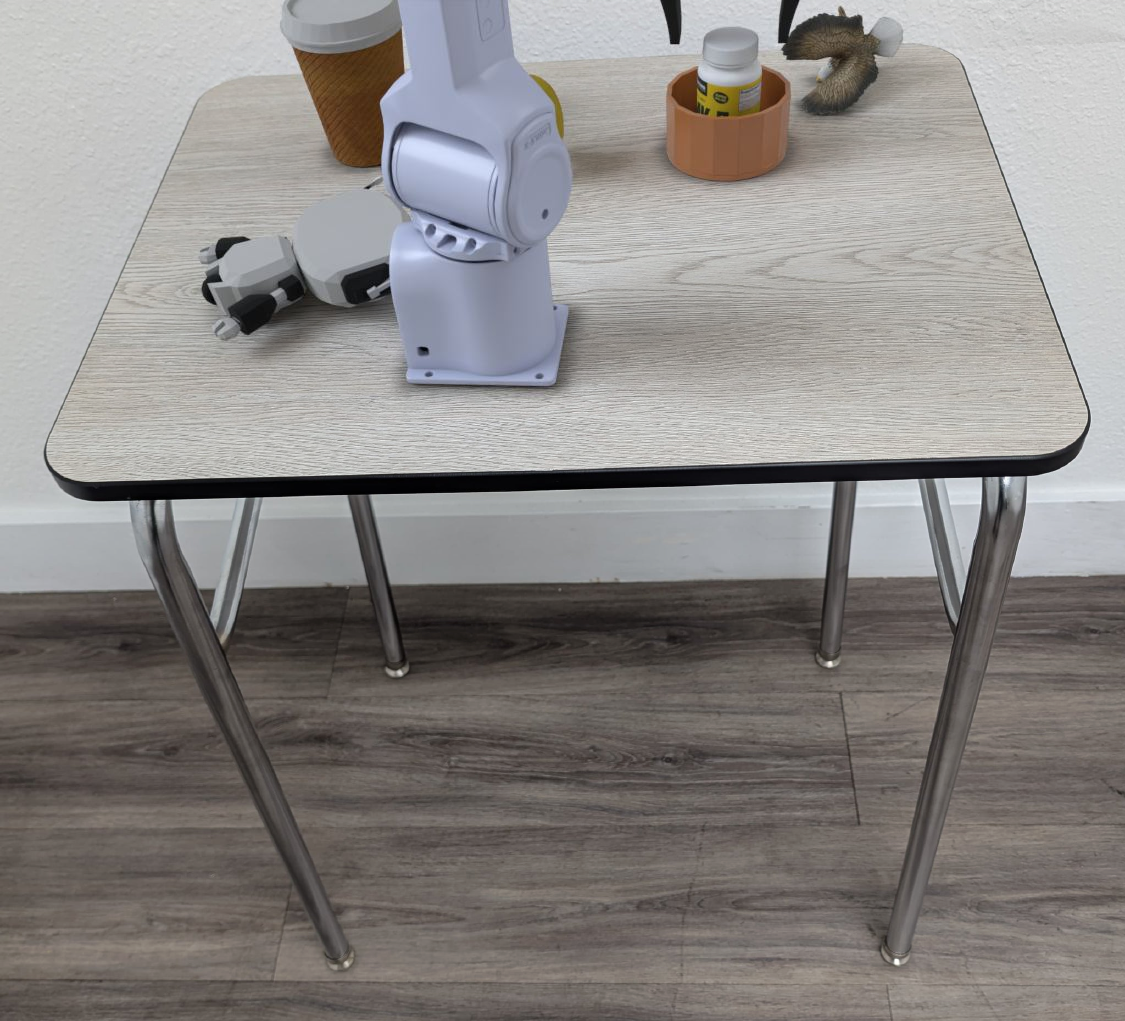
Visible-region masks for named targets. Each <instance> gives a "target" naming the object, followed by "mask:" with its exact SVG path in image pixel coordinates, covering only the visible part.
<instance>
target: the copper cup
mask: <svg viewBox="0 0 1125 1021" xmlns="http://www.w3.org/2000/svg"><path fill="white" fill-rule="evenodd" d="M698 67H699V65H697V66H693V67H691V68H689V69H687V70H684V71H682V72H681V73H678V74H677V75H675V77H674V78H673V79H671V81H670V82H669V83H668V84H667V86H666V96H665V99H666V100H665V109H666V111H665V112H666V113H665V114H666V115H665V116H666V127H665V128H666V154H667V157H668V160H669V162H670V164H672V165H673V166H674V167H675V168H676V169H677V170H678V171H680V172H682V173H684V174H686V175H688V176H691V177H693V178H697V179H701V180H707V181H713V182H714V181H715V182H733V181H742V180H748V179H752V178H755V177H758V176H762V175H765V174H766V173H769V172H770V171H772V170H774V169H776V167H778V166H779V164H781V162H782V161H783V160H784V158H785V156H786V152H787V148H788V135H789V122H790V110H791V99H792V98H791V97H792V89H791V87H792V86H791V82H790V81H789V80H788V78H786V76H784V74H782V72H780V71H778V70H775V69H773V68H770V67H769V66H767V65H764V64H761V67H762V79H761V95H760V112H757V113H753V114H748V115H743V116H730V117H715V116H709V115H704V114H699V113H697V74H698Z"/></svg>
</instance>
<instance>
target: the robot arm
mask: <svg viewBox="0 0 1125 1021" xmlns="http://www.w3.org/2000/svg"><path fill="white" fill-rule="evenodd" d="M681 1H682V0H659V2H660V5H661V7H662V10H663V14H664V17H665V23H666V27H667V31H668V39H669V45H674V46H675V45H680V43H681V38H682V27H683V26H682V24H683V23H682V22H683V16H682V2H681ZM800 1H801V0H780V6H779V7H780V8H779V15H778V28H777V44H785V43H788V38H789V36H790V33H791V27H792V24H793V20H794V17H795V14H796V11H797V9H798V6H799V4H800ZM398 4H399V10H400V15H401V20H402V32H403V37H404V41H405V46H406V51H407V56H408V63H409V69H408V70H406V72H405V73H404V74H403V75H402V76H401V77H400V78H399V79H398V80H397V81H396V82H395V83H394V84H393V85H392V86H391V87H390V89H389V90H388V91H387V93H386V94H385V95H384V97H383V98H382V99H381V101H380V107H381V111H382V116H383V123H384V142H383V150H382V164H380V165H381V176H383V184H384V187H385V189H386V192H387V193H388V195H389V196H390V197H391V198H392V199H393V200H394V201H395V202H396V203H398V204H399V205H401V206H402V207H403V208H406V209H409V211H410V217H411V221H408V222H403V223H400V224H399V225H398V226H397V227H396V229H395V231H394V234H393V238H392V242H391V248H390V259H389V271H390V286H391V293H392V294H391V298H392V303H393V308H394V311H395V316H396V320H397V324H398V329H399V334H400V338H401V343H402V347H403V351H404V356H405V361H406V364H407V371H406V373H405V379H406V381H407V382H408V383H409V384H414V385H415V384H417V385H418V384H419V385H420V384H421V385H471V386H472V385H473V386H526V387H527V386H528V387H551V386H553V385H554V384H555V383H556V382H557V377H558V371H559V367H560V362H561V361H560V360H561V355H562V350H563V344H564V340H565V334H566V328H567V323H568V318H569V313H570V312H569V306H568V305H566V304H565V303H554V299H553V288H552V287H553V286H552V278H551V268H550V257H549V256H550V255H549V248H548V246H549V245H548V237H549V236H551V234H552V232H554V231H555V229H556V228H557V227H558V225H559V224H560V222H561V221H562V219H563V217H564V215H565V212H566V211H567V208H568V205H569V202H570V199H571V194H572V189H573V188H572V187H573V168H572V162H571V156H570V153H569V150H568V147H567V146H566V144H565V142H564V139H563V140H562V139H561V137H560V135H559V132H558V128H557V123H556V115H555V105H554V103H553V102H552V100H551V99H550V98H549V97H548V96H547V94H546V93H545V92H544V91H543V90H542V88H541V87H540V86H539V85H538V84H537V83H536V82H535V81H534V80H533V78H532V77H531V76H530V75H529V74H530V73H528V72H527V70H525V69H524V67H523V66H522V65H521V64H520V62H518V59H517V58H516V56H515V50H514V42H513V33H512V24H511V18H510V9H509V8H510V7H509V0H398Z"/></svg>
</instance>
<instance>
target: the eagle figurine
mask: <svg viewBox="0 0 1125 1021" xmlns="http://www.w3.org/2000/svg"><path fill="white" fill-rule="evenodd" d="M837 12H838V15H834V14H829V13H827V12H823V13H820V12H819V13H817V15H813V16H812V17H809V18H807V20H804V21H802V22H801V23H799V24H797V25H796V26H795V28H794V29H793V30H791V31H790V32H789V38H788V43H783V45H782V47H781V49H780V50H781V51H782V55H783V56H785V60H786V61H818V60H823V59H827V58H829V60H827V62H825V64H824V65H823V66H822V67H821V69H819V70H818V73H817V77H816V79H815V82H816V83H819V82H820V81H821V80H822V81H821V83H820V84H818V85H817V87H815V88H814V89H812V90H811V91H810V92H809V93H807V94H806V95H805V96H803V97H802V98H801V100H800V102H801V103H802V108H805V112H806V113H810V114H811V115H818V114H820V115H826V114H828V113H831V114H832V115H834V114H836V113H837V112H839V113H842V112H845V111H846V110H848V109H849V108H851V107H853V106H854V105H855V104H856V103H858V102H859V101H860V97H862V96H863V95H864V94H865V91H866V90H867V89H868V88H869V87H870V86H871V84H874V83H876V82H877V79H878V75H879V74H880V72H879V67H878V66H877V62H876V61H875V60H876V56H878V57H883V58H894V57H895V56H896V55H897V53H898V51H899V49H900V47H901V44H902V43H903V41H904V36H903V35H904V29H903V27H902V25H901V24H900V23H899V22H898V21H897V20H895V19H893V18H892V17H888V16H882V17H880V18H878V20H877V21H876V23H875V24H874V25H873V26H872V28H871V29H870V31H869V32H868V33H865V30H864V29H865V26H864V25H863V18H864V17H863V16H862V15H861V14H859V13H857V14H854V15H853V16H847V14H846V11H845V9H844V8H843V6H841V5H839V6H838V7H837Z"/></svg>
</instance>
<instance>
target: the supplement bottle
mask: <svg viewBox="0 0 1125 1021" xmlns="http://www.w3.org/2000/svg"><path fill="white" fill-rule="evenodd" d="M702 41H703V42H702V52H701V53H702V60H701V61H700V63H699V64H698V66H699V67H698V74H697V113H699V114H704V115H709V116H715V117H730V116H743V115H748V114H753V113H757V112H760V95H761V79H762V67H761V65H762V64H761V61H759V60H758V57H759V35H758V33H756V32H755V31H753V30H752V29H749V28H746V27H741V26H723V27H718V28H715V29H712V30H710V31H708V32H707V33H706V34H705V35H704V37H703V40H702Z"/></svg>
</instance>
